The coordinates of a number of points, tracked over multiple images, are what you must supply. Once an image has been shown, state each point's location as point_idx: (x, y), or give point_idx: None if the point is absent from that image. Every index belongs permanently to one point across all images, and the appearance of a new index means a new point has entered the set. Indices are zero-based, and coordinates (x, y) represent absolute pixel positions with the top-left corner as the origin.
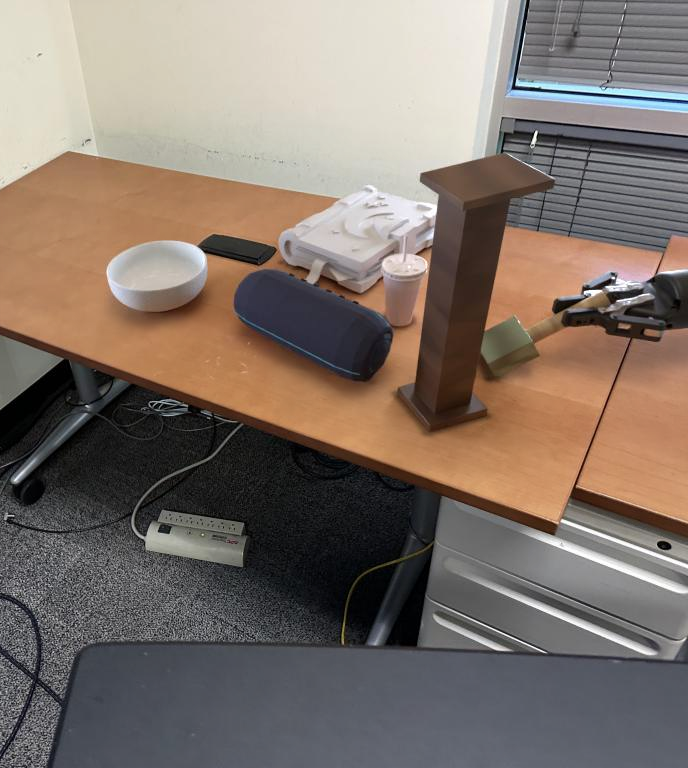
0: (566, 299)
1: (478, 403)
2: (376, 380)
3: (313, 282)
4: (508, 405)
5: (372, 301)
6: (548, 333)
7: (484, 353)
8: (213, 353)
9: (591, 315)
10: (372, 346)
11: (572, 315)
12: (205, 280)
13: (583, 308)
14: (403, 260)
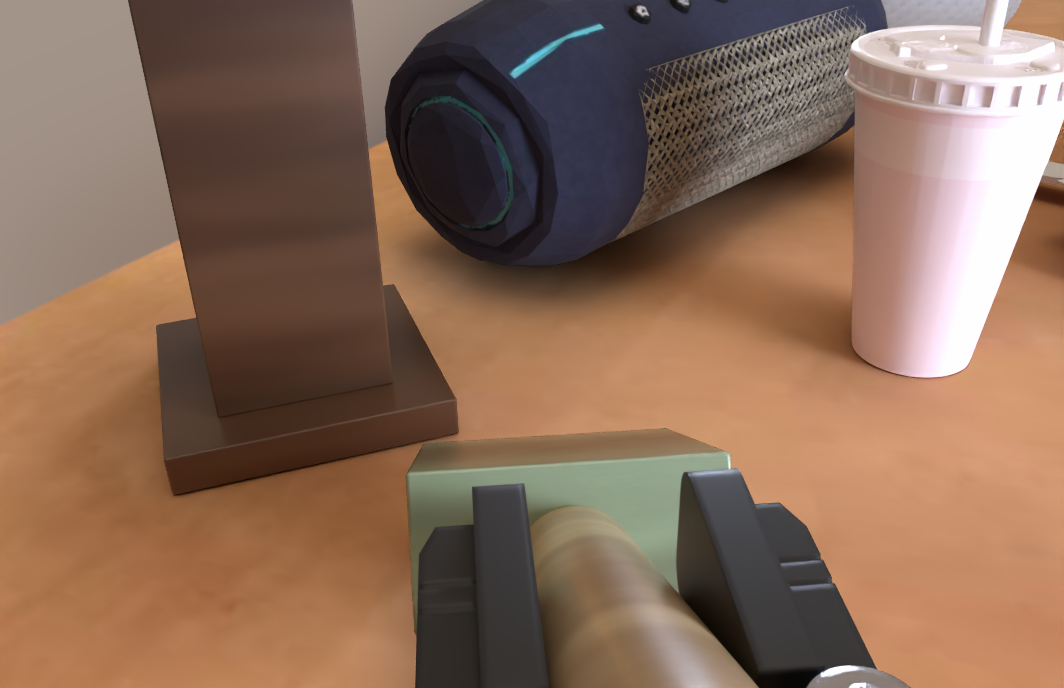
0: (716, 517)
1: (209, 438)
2: (485, 285)
3: (1061, 176)
4: (204, 578)
5: (1032, 301)
6: None
7: (504, 438)
8: None
9: (439, 669)
10: (409, 71)
11: (473, 537)
12: (895, 17)
13: (533, 593)
14: (981, 33)
